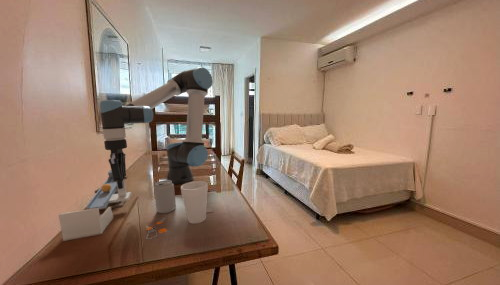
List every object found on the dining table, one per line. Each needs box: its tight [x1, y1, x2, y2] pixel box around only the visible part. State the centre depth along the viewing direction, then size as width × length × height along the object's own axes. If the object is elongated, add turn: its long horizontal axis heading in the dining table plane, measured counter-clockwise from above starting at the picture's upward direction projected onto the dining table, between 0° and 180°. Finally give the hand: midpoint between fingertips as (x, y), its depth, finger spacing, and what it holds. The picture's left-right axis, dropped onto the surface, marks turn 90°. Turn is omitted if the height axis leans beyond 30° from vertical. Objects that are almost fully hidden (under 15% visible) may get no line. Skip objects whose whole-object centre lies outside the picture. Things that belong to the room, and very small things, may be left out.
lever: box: [86, 169, 132, 210], centre depth 92 cm, size 28×13×4 cm, turn 17°
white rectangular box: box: [58, 207, 114, 242], centre depth 72 cm, size 12×11×9 cm
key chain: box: [145, 217, 168, 240], centre depth 71 cm, size 13×7×1 cm, turn 22°
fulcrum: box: [94, 187, 128, 211], centre depth 92 cm, size 8×11×8 cm
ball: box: [100, 183, 111, 192], centre depth 89 cm, size 4×4×4 cm
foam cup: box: [180, 180, 209, 224], centre depth 75 cm, size 10×9×13 cm
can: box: [153, 179, 177, 214], centre depth 84 cm, size 8×8×12 cm
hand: (122, 195), depth 86 cm, fingers closed
